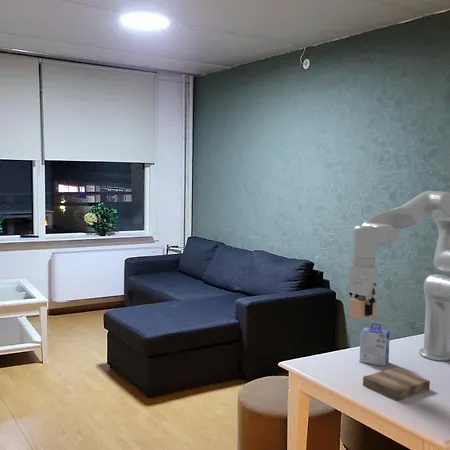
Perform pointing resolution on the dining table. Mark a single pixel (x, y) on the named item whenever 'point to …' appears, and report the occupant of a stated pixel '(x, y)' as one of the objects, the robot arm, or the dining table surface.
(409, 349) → the dining table surface
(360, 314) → the block
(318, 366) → the dining table surface
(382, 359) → the ink cartridge box
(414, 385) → the wooden square tile
